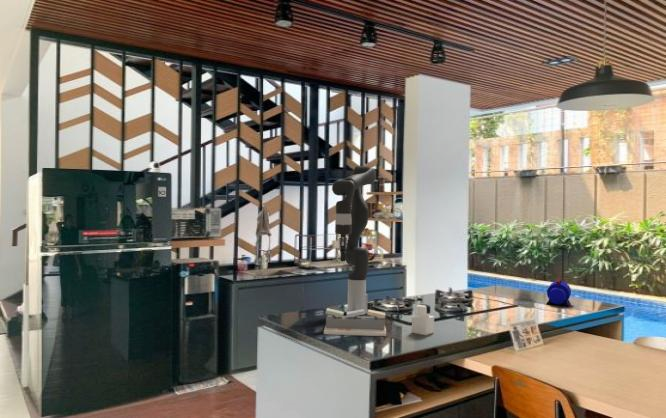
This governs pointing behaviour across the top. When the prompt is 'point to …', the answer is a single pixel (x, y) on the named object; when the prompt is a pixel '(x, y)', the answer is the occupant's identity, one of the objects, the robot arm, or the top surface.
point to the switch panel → (354, 332)
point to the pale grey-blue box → (355, 313)
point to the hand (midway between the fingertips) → (343, 261)
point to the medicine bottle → (423, 320)
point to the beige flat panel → (376, 314)
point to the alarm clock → (559, 293)
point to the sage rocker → (334, 312)
